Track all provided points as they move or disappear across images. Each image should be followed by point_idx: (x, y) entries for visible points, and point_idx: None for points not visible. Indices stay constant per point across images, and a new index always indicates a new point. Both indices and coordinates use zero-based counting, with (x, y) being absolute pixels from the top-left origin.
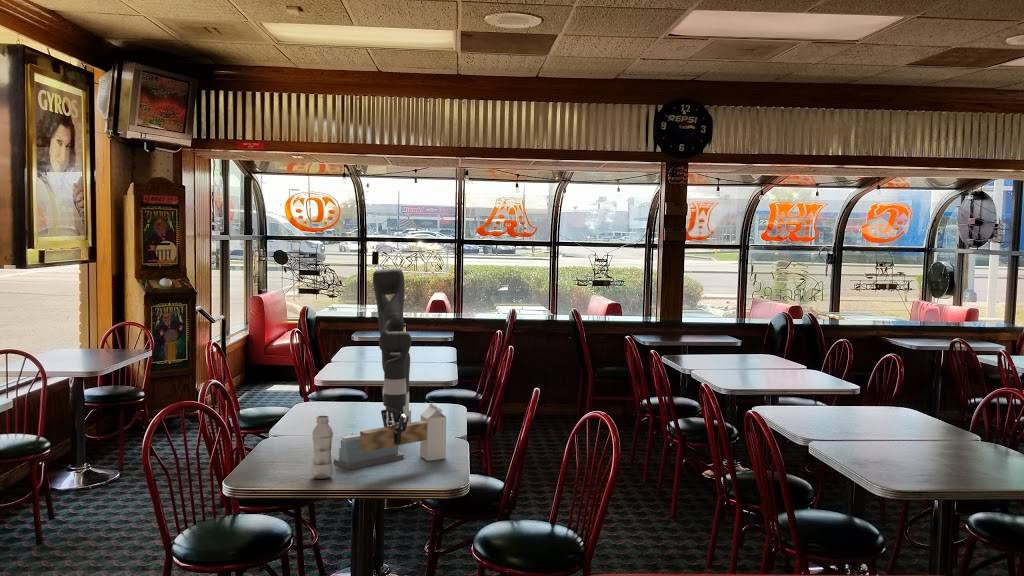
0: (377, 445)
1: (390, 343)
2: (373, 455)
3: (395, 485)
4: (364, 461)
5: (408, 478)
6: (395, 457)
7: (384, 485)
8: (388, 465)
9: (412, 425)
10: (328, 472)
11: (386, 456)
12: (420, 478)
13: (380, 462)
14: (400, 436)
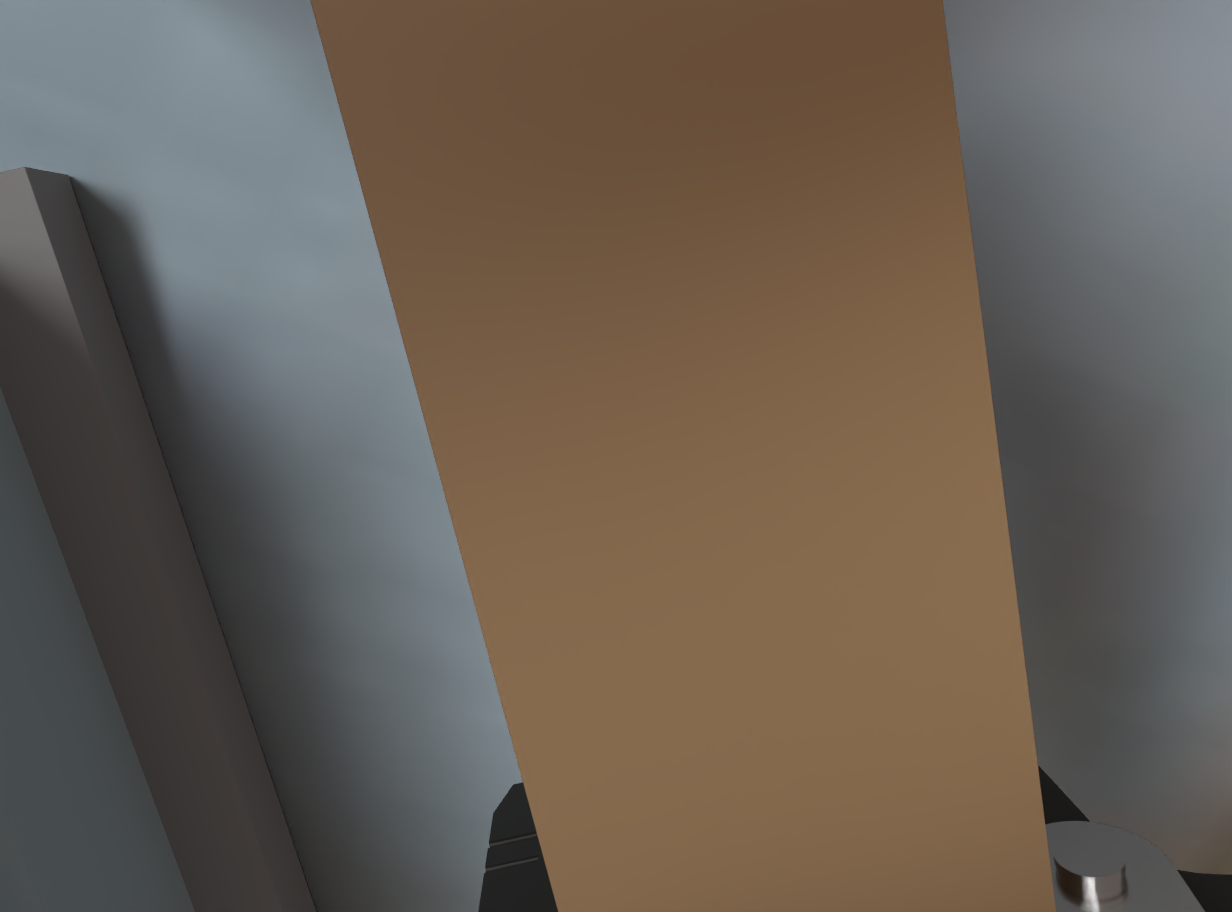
0: None
1: None
2: (85, 714)
3: (1215, 708)
4: (225, 842)
5: (1046, 471)
6: (94, 334)
7: (1144, 818)
8: (346, 512)
9: (974, 282)
10: None
11: (57, 478)
12: (1131, 323)
13: (201, 588)
14: (1052, 801)
